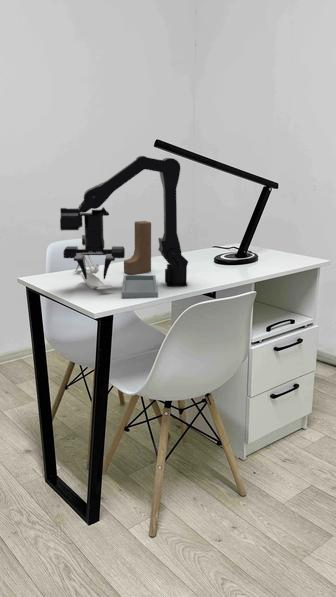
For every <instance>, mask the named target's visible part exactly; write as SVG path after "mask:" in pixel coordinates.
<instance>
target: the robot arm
mask: <svg viewBox="0 0 336 597" xmlns="http://www.w3.org/2000/svg"><path fill="white" fill-rule="evenodd" d="M145 170H146V171H148V170H149V171H153V172H158V173H159V177H160V181H161V184H162V189H163V190H162V192H163V193H162V194H163V195H162V196H163V236H162V237H158V245H159V246H158V251H159V253H160V254H161V257H163V259H165V261H166V262H167V264H166V268H164V283H165V284H166V286H167V287H173V286H174V287H176V286H177V287H183V286H184V287H187V286H188V282H187V274H188V270H187V269H188V265H189V261H188V259H186V258H185V256H183V255H182V249H181V244H180V240H179V237H178V236H179V235H178V231H177V230H178V219H177V218H178V217H177V216H178V215H177V213H178V211H177V206H178V205H177V187H178V183H179V180H180V175H181V164H180V162H179V161H178V160H177V159H175V158H174V157H173V158H171V157H165V158H163V159H157V158H154V157H153V158H152V157H147V156H145V155H139V156H137V157H136V158H135V160H132V162H130V163H129V164H128V165H126V166H125V167H123V168H122V169H121V170H120V171H118V172H117V173H115V174H114V175H113V176H111V177H110V178H108V179H107V180H105V181H103V182H100V183H99V184H96V185H95V186H92V187H90V188H88V189H86V190H85V191H84V194H83V201H82V202H81V203H80V204H79V205H78V208H77V207H76V208H75V207H74V208H67V207H60V218H59V223H60V224H59V228H60V231H79V230H80V228H82V227H83V218H84V234H82V235H81V246H85V249H80V248H79V246H77V245H75V246H66V247H64V249H63V259H73V261H75V262H77V265H78V264H79V267H80V269H81V272H83V275H84V277H85V279H87V272H88V271H87V266H86V260H85V256H88V255H90V256H105V259H104V265H103V266H104V267H103V274H102V276H103V280H106V276H107V273H108V270H109V267H110V264H111V263H112V262H115V260H116V259H125V256H126V254H125V253H126V251H125V247H124V246H119V245H118V246H115V245H114V246H111V248H107V249H106V248H105V239H104V216H105V217H106V216H107V217H108V216H109V215H110V213H109V212H108V211H107V210H106V208H105V207H102V208H101V209H98V208H100V207H101V206H102V205H103V204H104V203H105V202H106V201H107V200H108V199H109V198H110V196H112V194H113V193H114V192H115V191H117V190H118V189H119V188H121V187H123V185H125V184H126V183H127V182H128V181H131V179H133V178H135V177H136V176H137V175H139V174H140V173H141V172H143V171H145ZM90 210H91V212H88V211H90ZM84 255H85V256H84Z"/></svg>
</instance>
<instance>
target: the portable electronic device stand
mask: <svg viewBox="0 0 336 597" xmlns="http://www.w3.org/2000/svg"><path fill="white" fill-rule="evenodd" d="M79 249H85V246H83V245H81V246H80V247H79ZM84 256H85V263H86V264H87V266H88V268H89V270H90V273H92V274H95V273H96V272H97V271H98V269H99V267H100V263H99V262H97V263H96V264H95V263H94V262H93V260H92V258H91V255H84ZM87 256H88V258H87ZM88 259H89V260H88ZM89 261H90V262H89ZM90 263H91V264H90ZM79 267H80V266H79V264H78V263H77V265H76V269H75V272H77V271H78V269H79Z"/></svg>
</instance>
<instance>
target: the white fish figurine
mask: <svg viewBox="0 0 336 597" xmlns="http://www.w3.org/2000/svg"><path fill="white" fill-rule="evenodd" d="M80 276H81V278H82V279H83V281H84V283H85V284H86V286H88V287H89V288H90V289H93V290H95V289H96V290H108V289H109V290H110V289H113V288H114V286H112V285H110V284H105V283H104V282H103V281H102V280H100V277H97V276H96V275H95V274H94V273H92V272H91V271H87V279H85V277H84V275H83V272H82V271H81V272H80Z"/></svg>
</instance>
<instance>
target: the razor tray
mask: <svg viewBox="0 0 336 597" xmlns="http://www.w3.org/2000/svg"><path fill="white" fill-rule="evenodd" d="M121 288H122V289H121V299H122V300H124V299H145V298H146V299H149V298H150V299H151V298H152V299H153V298H158V297H159V295H158V294H159V293H158V285H157V277H156V275H154V274H153V275H151V274H147V275H145V274H142V275H141V274H132V275H129V274H127V275H126V274H125V275H123V277H122V286H121Z"/></svg>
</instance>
